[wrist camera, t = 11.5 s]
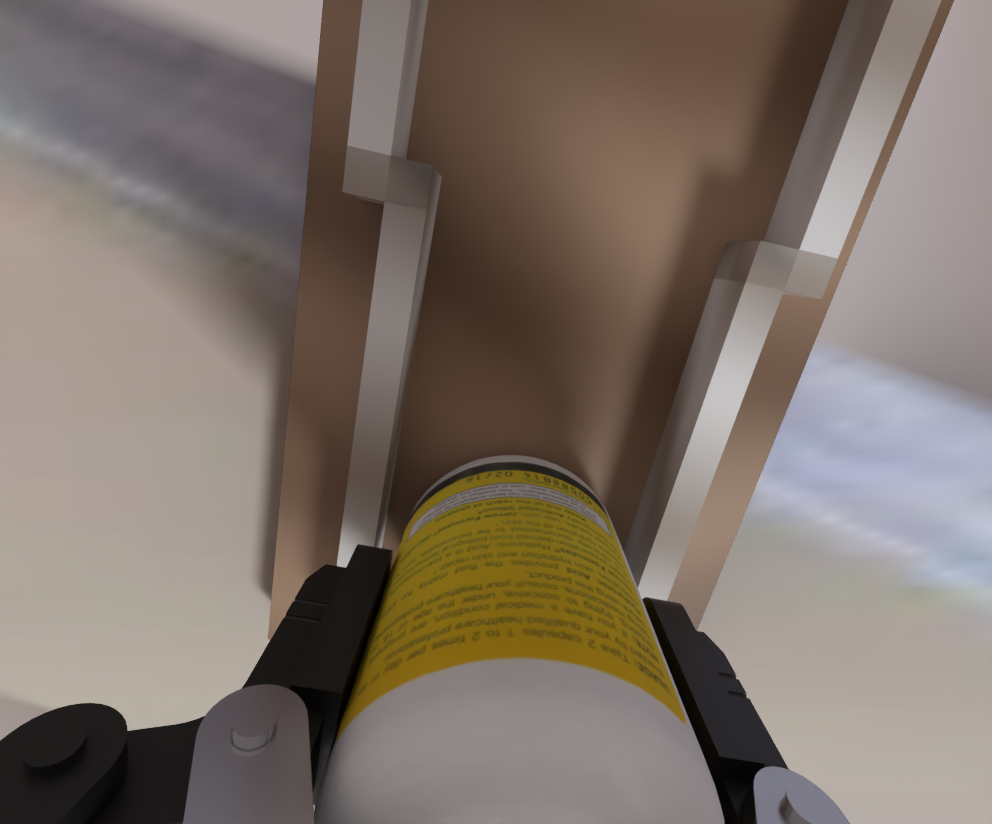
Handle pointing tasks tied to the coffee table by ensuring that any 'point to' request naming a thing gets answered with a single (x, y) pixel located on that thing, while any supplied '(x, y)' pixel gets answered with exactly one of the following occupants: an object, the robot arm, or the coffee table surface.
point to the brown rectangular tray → (577, 254)
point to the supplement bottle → (513, 671)
